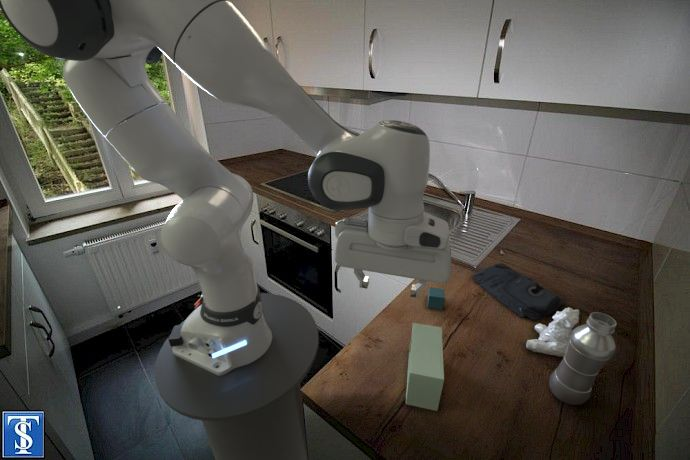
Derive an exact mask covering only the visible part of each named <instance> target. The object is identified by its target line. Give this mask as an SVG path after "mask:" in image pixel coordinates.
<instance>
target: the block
mask: <svg viewBox="0 0 690 460" xmlns="http://www.w3.org/2000/svg"><path fill="white" fill-rule="evenodd" d="M427 292H428V293H427V305H426V306H427V308H430V309H435V310H444V305H445V300H446V299H445V296H446V295H445V289H444V288H440V287H432V286H429V287H428V291H427Z"/></svg>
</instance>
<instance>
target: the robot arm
mask: <svg viewBox="0 0 690 460" xmlns="http://www.w3.org/2000/svg"><path fill="white" fill-rule="evenodd" d="M0 10H1V12H2V15H3V17H4V18H5V19H6V21H7V23H8V24H9V25H10V26H11V28H12V29H13V30H14V31H15V32H16V33H17V34H18V35H19V37H21V39H22V40H24V42H26V43H27V45H29V46H30V47H32V48H33V49H34V50H36V51H37V52H39V53H41V54H43V55H45V56H47V57H50V58H55V59H59V60H65V63H64V65H63V68H62V77H63V81H64V83H65V84H66V86H67V88H68V89H69V92H70V93H71V94H72V97H74V99H75V100H76V102H77V104H78V105H79V107H80V108H81V109H82V112H84V114H85V115H86V116H87V118H88V119H89V120H90V121H91V123H92V124H93V125H94V127H95V128H96V129H97V131H98V132H99V133H100V134H101V135H102V136H103V137H104V139H106V141H107V142H108V143H109V144H110V145H111V147H113V148H114V150H115V151H116V152H117V153H118V154H119V156H120V157H121V158H122V159H123V160H124V161H125V162H126V163H127V164H128V166H130V168H131V169H132V170H133V171H134V172H135V173H136V174H137V176H138V177H140V178H141V179H143V180H144V181H147V182H150V183H155V184H159V185H161V186H162V187H164V188H166V189H168V190H170V191H171V192H173V193H174V194H175V195H177V196H178V197H179V198H181V201H180V202H179V203H178V204H177V205H175V206H174V207H173V208H172V210H171V211H170V213H169V215H168V216H167V218H166V219H165V222H164V224H163V226H162V227H161V229H160V234H159V235H160V242H161V246H162V247H163V249H164V251H165V252H166V253H167V255H168V256H169V257H170V258H171V259H173V260H174V261H176V262H178V263H179V264H182V265H184V266H188V267H191V268H192V270H193V271H194V274H195V275H196V278H197V280H198V284H199V288H200V291H201V295H200V298H199V299H198V300H197V301H196V302H195V303H194V304H193V306H194V310H193V311H192V312H191V313H190V314H189V315H188V316H187V317H186V319H185V320H184V321H185V322H184V321H183V322H184V323H183V325H180V324H178V325H174V326H173V328H172V330H171V333H170V334H169V335H168V337H167V338H168V341H169V343H170V346H171V347H173V349H172V351H173V354H174V355H176V356H178V357H180V358H182V359H184V360H187V361H189V362H191V363H193V364H195V365H197V366H199V367H201V368H203V369H205V370H207V371H210V372H212V373H214V374H216V375H218V376H222V375H224V374H226V373H228V372H230V371H231V370H233V369H235V368H237V367H241V366H244V365H247V364H249V363H252V362H254V361H255V360H257V359H258V358H260V357H261V356H262V355H263V354H264V353H265V352H266V351H267V350H268V348H269V347H270V344H271V342H272V332H271V330H270V328H269V327H268V325H267V323H266V320H265V318H264V315H263V312H262V300H261V294H260V293H261V290H260V287H259V286H258V283H257V277H256V276H257V275H256V271H255V265H254V264H255V263H254V260H253V259H252V257H251V256H250V255H249V254H247V253H246V251H245V250H244V248H243V245H242V241H241V237H242V230H243V227H244V224H245V223H246V222H247V220H248V218H249V217H250V215H251V213H252V211H253V206H254V205H253V204H254V191H253V188H252V186H251V185H250V183H249V182H248V181H247V180H246V179H245V178H243V177H242V176H240V175H239V174H236V173H233V172H232V171H230V170H229V169H228V168H226V167H225V166H224V165H223V164H221V163H220V162H219V161H218V160H217V159H216V158H215V157H214V156H213V155H211V154H210V153H209V152H208V151H207V150H206V149H205V148H204V146H202V145H201V144H200V142H199V141H197V139H196V138H195V136H194V135H193V134H192V133H191V131H190V130H189V128H187V127H186V125H185V124H184V122H183V121H182V120H181V119H180V117H179V116H178V115H177V114H176V112H175V111H174V110H173V108H172V107H171V106H170V105H169V103H168V102H167V101H166V99H165V98H164V97H163V96H162V94H161V93H160V92H159V91H158V89H157V88H156V86H155V85H154V84H153V82H152V81H151V79H150V77H149V75H148V73H147V68H146V63H150V64H155V63H158V62H159V61H160V60H161V58H162V56H163V54H164V55H165V56H166V57H167V59H169V60H170V61H171V62H172V63H173V64H174V65H175V66H176V67H177V68H178V69H179V71H181V72H182V73H183V74H184V76H186V77H187V78H188V79H189V80H190V81H192V82H193V83H194V84H195V85H196V86H198V87H199V88H200V89H202V90H203V91H205V92H206V93H208V94H209V95H211V96H213V98H215V99H217V100H218V101H221V102H223V103H226V104H231V105H236V106H243V107H248V108H253V109H256V110H259V111H263V112H266V113H267V114H270V115H272V116H274V117H275V118H276V119H278V120H279V121H281V122H282V123H283V124H284V125H285V126H286V127H287V128H288V129H290V131H292V132H293V133H294V134H295V135H296V136H297V137H298V138H299V139H300V140H302V141H303V142H304V143H305V145H307V146H308V147H309V148H310V149H311V150H312V151H313V153H314V155H315V156H316V157H315V158H314V160H313V161H312V164H311V165H310V167H309V169H308V174H307V184H308V188H309V191H310V192H311V195H312V196H313V197H314V199H315V200H316V201H317V202H318V203H319V204H321V205H322V206H324V207H325V208H328V209H330V210H334V211H351V210H360V209H361V210H362V209H366V208H367V209H368V217H367V219H359V218H351V217H343V218H342V219H339V220H338V221H336V222H335V225H334V236H335V238H336V239H337V240H336V245H335V251H334V262H335V263H336V265H338V266H339V267H340V268H341V267H342V268H346V269H347V268H348V269H353V274H354V275H355V277H356V278H357V280H358V281H359V287H358V288H360V289H366V290H367V289H368V288H369V285H370V276H368V275H365V272H364V271H366V272H372V273H377V274H378V273H379V274H383V275H389V276H396V277H402V278H407V279H412V280H418V282H417V283H416V284H415V283H411V288H410V296H409V297H410V298H416V299H419V297H420V292H421V291H422V290H423V289H424V288H425V287H427V285H428V282H430V283H437V284H441V285H442V284H447V282H449V281H450V280H451V276H452V245H451V242H450V227H449V223H448V221H446V220H444V219H442V218H439V217H437V216H435V215H433V214H431V213H428V212H426V211H425V204H424V195H425V192H426V189H427V187H428V182H429V174H430V161H431V145H430V144H431V143H430V138H429V136H428V135H427V133H425V131H424V130H423V129H422V128H420V127H419V126H417V125H414V124H412V123H409V122H405V121H401V120H394V119H384V120H380V121H379V122H377V123H376V124H375V125H374V126H372V127H371V128H370V129H368V130H366V131H364V132H362V133H359V132H357V131H355V130H352V129H350V128H348V127H346V126H344V125H342V124H340V123H339V122H337V121H336V120H335V119H333V117H331V115H330V114H328V112H327V111H325V110H324V108H323V107H321V105H320V104H318V103H317V102H316V100H315V99H313V97H311V95H310V94H308V92H306V91H305V90H304V88H302V87H301V85H300V84H299V83H298V82H296V80H295V79H294V78H293V76H291V74H290V72H288V70H287V69H286V68H285V66H284V65H283V64H282V62H280V60H279V59H278V58H277V57H276V55H275V54H274V53H273V51H272V50H271V49H270V47H269V46H268V45H267V43H266V41H264V39H263V38H262V37H261V35H260V34H259V33H258V32H257V30H256V29H255V28H254V27H253V25H252V24H251V23H250V22H249V21H248V19H247V18H246V17H245V16H244V15H243V13H242V12H241V11H240V10H239V9H238V8H237V6H236V5H234V3H232V1H231V0H0ZM217 367H218V368H217Z"/></svg>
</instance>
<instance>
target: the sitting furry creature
mask: <svg viewBox="0 0 690 460" xmlns="http://www.w3.org/2000/svg"><path fill="white" fill-rule="evenodd" d="M551 318H552V319H553V320H552V321H551V322H549V323H548V326H547V325H546V324H543V323H540V322H539V323H536V324H535V326H534V331H536V333H538V334H539V337H538V339H537V338H535V339H533V338H532V339H527V340H526V343H525V347H526V349H527V350H529V351H531V352H533V353H539V354H545V355H549V356H555V357H559V358H561V357H562V358H564V355H565V353H566V350H567V347H568V342H569V338H570V334H571V332H572V331H573V328H574V326H576V325H577V324H578V323H579V322H580V310H579V309H578V308H577V309H573V308H572V307H569V306H568V307H565V308H564V309H563V310H562V311H558V310H556V312H555V313H554V315H552V317H551Z"/></svg>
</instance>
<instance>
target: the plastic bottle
mask: <svg viewBox="0 0 690 460" xmlns="http://www.w3.org/2000/svg"><path fill="white" fill-rule="evenodd" d="M616 327H617V321H616V320H615V319H614V317H612V316H610V315H608V314H607V313H604V312H599V311H593V312H590V314H589V316H588V318H587V319H586V321H585V324H580V325H579V326H577V327H575V328H574V329H572V332H571V334H570V338H569V342H568V347H567V350H566V353H565V355H564V357H562V360H561V362H560V363H559V364H558V366H557V368H555V369H554V370H553V371H552V373H551V374H550V376H549V379H548V388H549V389H550V391H551V393H552V395H553V396H554V397H555V398H557V399H558V400H559V401H560V402H563V403H564V404H567V405H570V406H581V405H583V404H585V403H586V402H587V401H588V400H589V399H590V397H591V394H592V389H593V386H594V383H595V380H596V379H597V376H598V374H599V373H600V371H601V370H602V368H603V367H604V366H605V365H606V364H607V363H608V362H609V360H611V358H612V357H613V356H614V354H615V352H616V347H617V344H616V342H615V339H614V337H613V334H614V333H615V331H616V330H615V329H616Z"/></svg>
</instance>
